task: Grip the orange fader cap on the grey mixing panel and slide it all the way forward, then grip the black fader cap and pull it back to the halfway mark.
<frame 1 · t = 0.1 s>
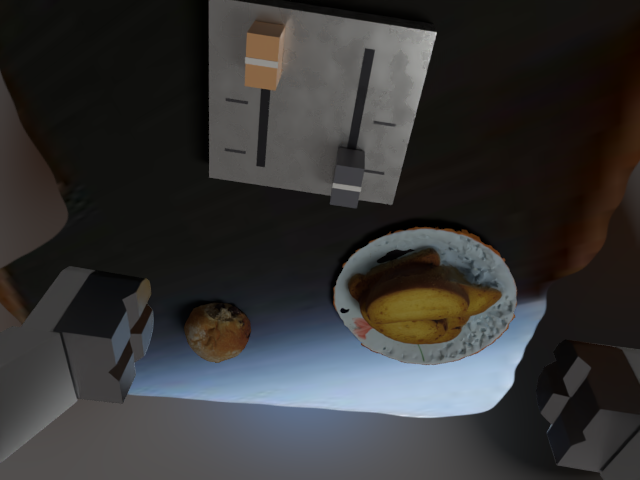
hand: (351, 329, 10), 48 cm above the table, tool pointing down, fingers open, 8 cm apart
bread roll: (221, 320, 81), on the table
black fader: (347, 178, 57), point 5 cm above the table, slide at 12.0 cm
food on plate: (422, 291, 74), on the table
mixing panel: (313, 101, 58), on the table
orange fader: (264, 55, 50), point 5 cm above the table, slide at 0.0 cm
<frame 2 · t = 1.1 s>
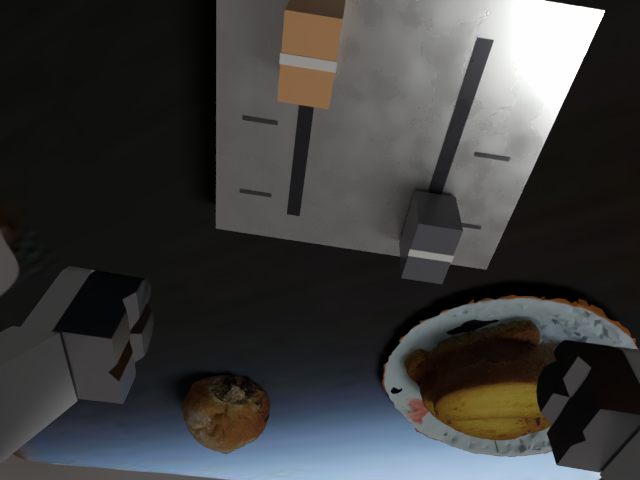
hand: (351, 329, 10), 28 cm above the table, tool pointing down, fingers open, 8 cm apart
bread roll: (231, 394, 61), on the table
black fader: (428, 237, 37), point 5 cm above the table, slide at 12.0 cm
food on plate: (503, 367, 55), on the table
mixing panel: (376, 118, 37), on the table
orange fader: (311, 50, 29), point 5 cm above the table, slide at 0.0 cm
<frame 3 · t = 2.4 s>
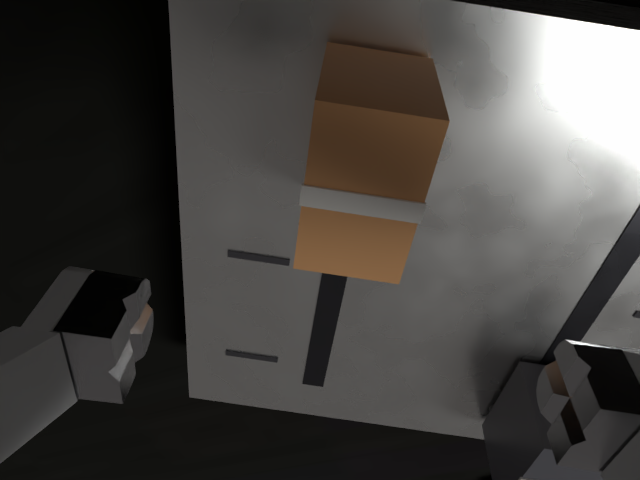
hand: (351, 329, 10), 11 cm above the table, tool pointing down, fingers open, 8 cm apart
black fader: (543, 440, 22), point 5 cm above the table, slide at 12.0 cm
mixing panel: (453, 240, 22), on the table
orange fader: (363, 163, 14), point 5 cm above the table, slide at 0.0 cm
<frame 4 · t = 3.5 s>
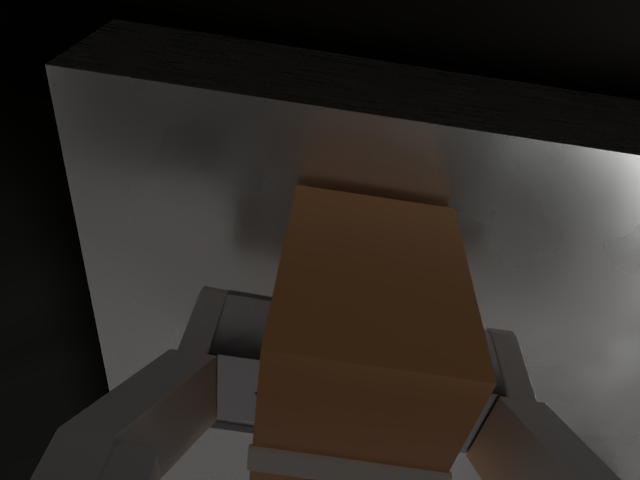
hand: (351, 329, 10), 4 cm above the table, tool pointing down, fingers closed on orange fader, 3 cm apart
mixing panel: (471, 377, 17), on the table
orange fader: (350, 368, 10), point 5 cm above the table, slide at 0.0 cm, touching gripper
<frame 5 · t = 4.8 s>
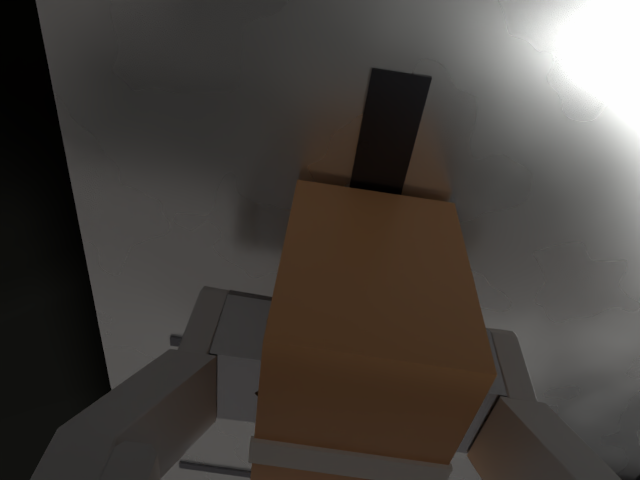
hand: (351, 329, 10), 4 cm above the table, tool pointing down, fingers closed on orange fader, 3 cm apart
mixing panel: (504, 307, 16), on the table
orange fader: (351, 362, 10), point 5 cm above the table, slide at 3.2 cm, touching gripper
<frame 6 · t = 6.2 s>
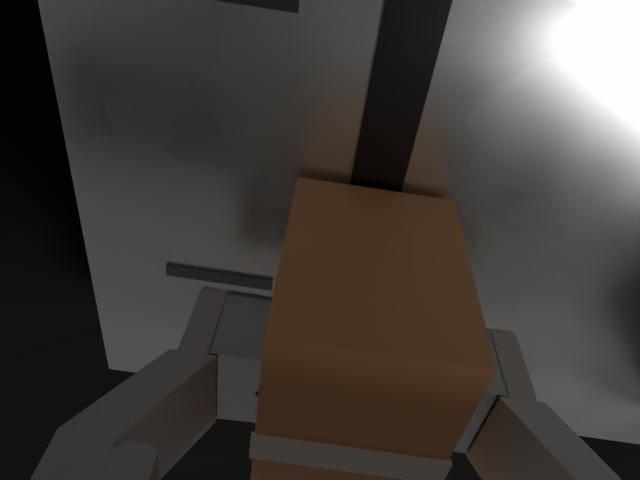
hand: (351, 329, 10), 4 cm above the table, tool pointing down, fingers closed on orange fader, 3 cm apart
orange fader: (351, 358, 10), point 5 cm above the table, slide at 11.5 cm, touching gripper
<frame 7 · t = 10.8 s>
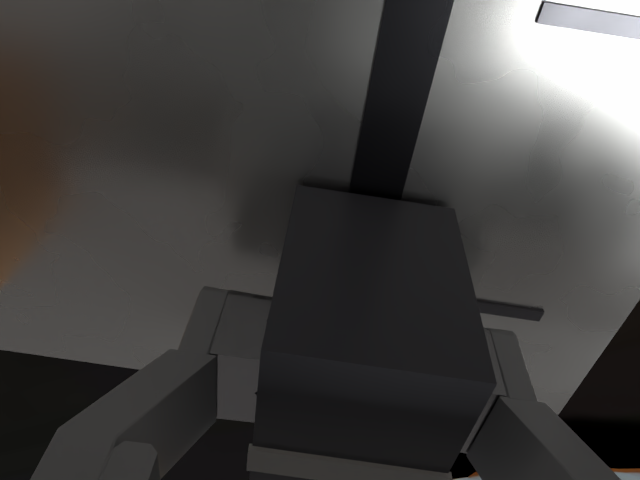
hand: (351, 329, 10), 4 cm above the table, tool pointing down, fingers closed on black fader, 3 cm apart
black fader: (350, 368, 10), point 5 cm above the table, slide at 12.0 cm, touching gripper
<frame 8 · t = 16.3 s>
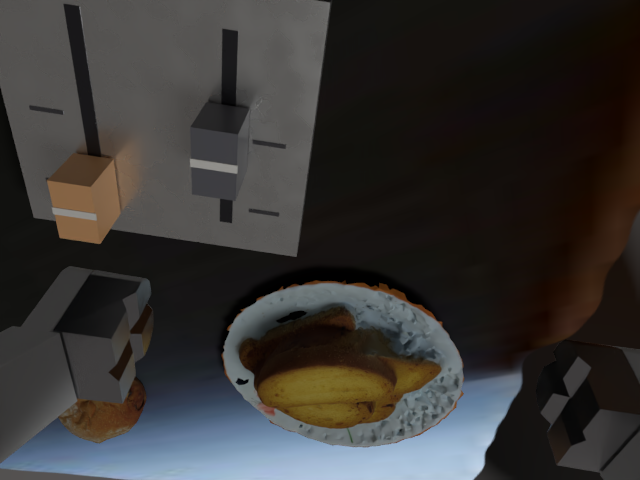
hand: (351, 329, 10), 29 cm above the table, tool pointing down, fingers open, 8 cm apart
bread roll: (109, 384, 62), on the table
black fader: (220, 151, 35), point 5 cm above the table, slide at 5.9 cm
food on plate: (342, 356, 56), on the table
mixing panel: (171, 110, 39), on the table
orange fader: (86, 198, 38), point 5 cm above the table, slide at 11.6 cm
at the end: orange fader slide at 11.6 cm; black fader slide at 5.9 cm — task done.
